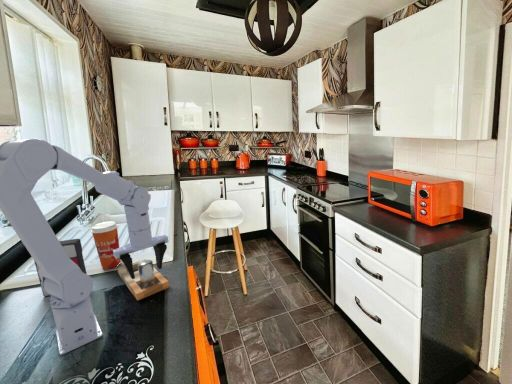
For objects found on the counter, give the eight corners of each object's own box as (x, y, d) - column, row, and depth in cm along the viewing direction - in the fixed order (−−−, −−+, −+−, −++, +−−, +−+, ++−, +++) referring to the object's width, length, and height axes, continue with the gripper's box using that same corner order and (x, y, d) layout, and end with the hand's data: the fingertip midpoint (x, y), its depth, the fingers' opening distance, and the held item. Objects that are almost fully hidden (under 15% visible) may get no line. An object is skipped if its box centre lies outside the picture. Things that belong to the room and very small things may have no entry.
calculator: (42, 298, 77) (29, 250, 73) (49, 290, 81) (37, 244, 77) (85, 290, 79) (74, 243, 76) (89, 283, 84) (80, 238, 80)
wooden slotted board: (169, 287, 79) (168, 281, 78) (137, 300, 73) (136, 294, 73) (146, 264, 94) (145, 259, 93) (118, 274, 88) (117, 268, 88)
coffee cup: (94, 272, 90) (85, 230, 87) (103, 261, 98) (95, 222, 95) (120, 268, 91) (112, 227, 88) (127, 258, 99) (121, 219, 96)
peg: (158, 287, 79) (154, 262, 77) (144, 293, 76) (140, 268, 74) (153, 282, 82) (149, 258, 80) (140, 288, 79) (135, 263, 77)
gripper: (159, 218, 82) (165, 259, 85) (107, 231, 73) (115, 276, 76) (168, 223, 77) (174, 267, 80) (113, 238, 68) (122, 286, 71)
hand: (146, 272), depth 78 cm, fingers open, 7 cm apart
